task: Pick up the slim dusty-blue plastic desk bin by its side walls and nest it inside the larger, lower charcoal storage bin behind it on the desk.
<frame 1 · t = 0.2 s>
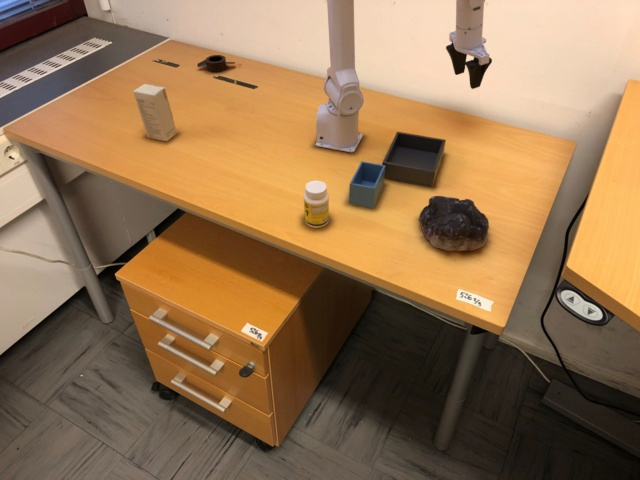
hand: (467, 80, 123), 10 cm above the table, tool pointing down, fingers open, 7 cm apart
crystal cluster: (453, 233, 99), on the table
cosmetic box: (161, 136, 126), on the table
blue bin: (366, 193, 108), on the table
charcoal bin: (413, 165, 115), on the table
supplement bottle: (316, 221, 102), on the table
black ring with tabs: (217, 69, 154), on the table
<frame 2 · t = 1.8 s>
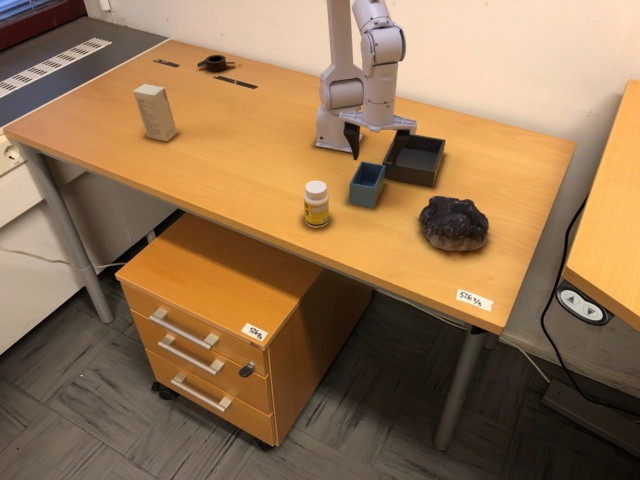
hand: (375, 160, 102), 8 cm above the table, tool pointing down, fingers open, 7 cm apart
nothing on the table moved.
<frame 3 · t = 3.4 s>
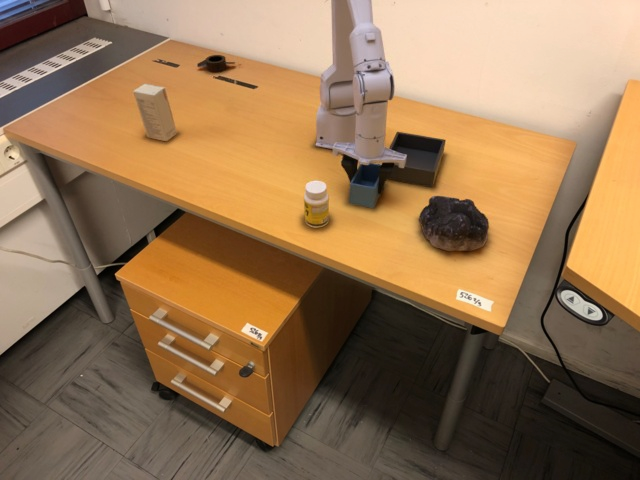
hand: (367, 188, 107), 1 cm above the table, tool pointing down, fingers closed on blue bin, 5 cm apart
blue bin: (366, 194, 108), on the table, touching gripper
everything else where it was.
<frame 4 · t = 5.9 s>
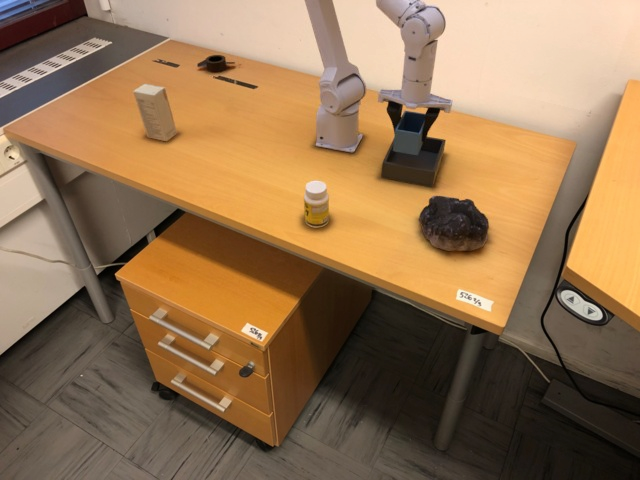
hand: (410, 137, 108), 8 cm above the table, tool pointing down, fingers closed on blue bin, 5 cm apart
blue bin: (409, 142, 109), point 7 cm above the table, touching gripper
everything else where it was.
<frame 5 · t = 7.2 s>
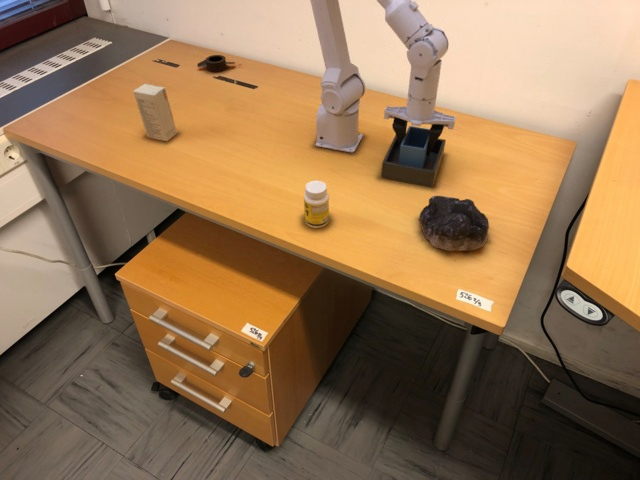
hand: (414, 151, 113), 4 cm above the table, tool pointing down, fingers closed on blue bin, 5 cm apart
blue bin: (414, 157, 113), point 2 cm above the table, touching gripper
everything else where it was.
when the fingers open (2 cm above the table, at t = 8.3 s): blue bin stays where it is, resting on charcoal bin.
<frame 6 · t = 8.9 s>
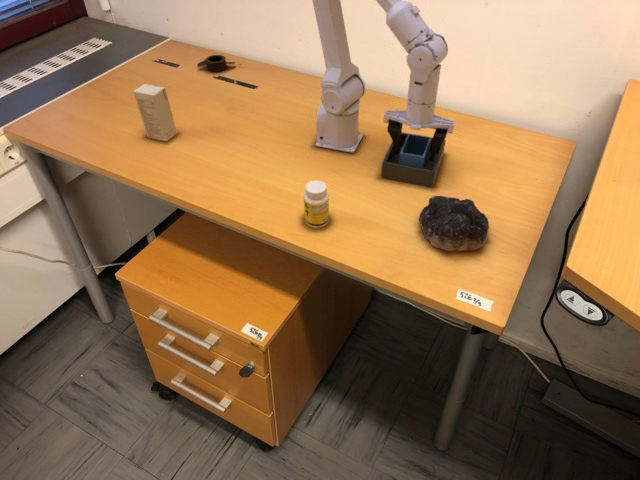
hand: (414, 155, 113), 3 cm above the table, tool pointing down, fingers open, 7 cm apart
blue bin: (413, 164, 115), resting on charcoal bin
everything else where it was.
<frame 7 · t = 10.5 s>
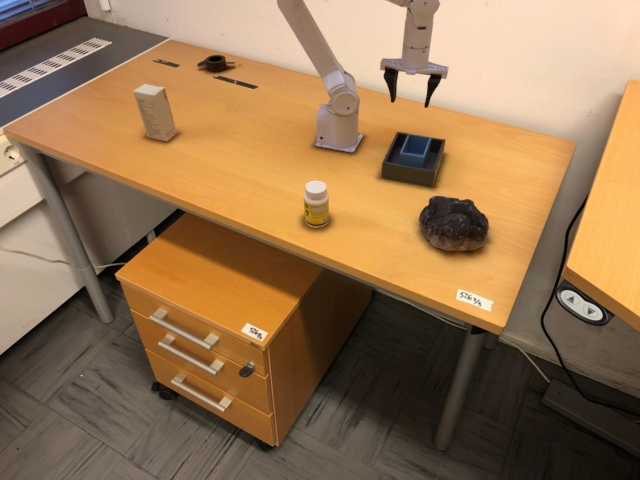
hand: (409, 103, 117), 9 cm above the table, tool pointing down, fingers open, 7 cm apart
nothing on the table moved.
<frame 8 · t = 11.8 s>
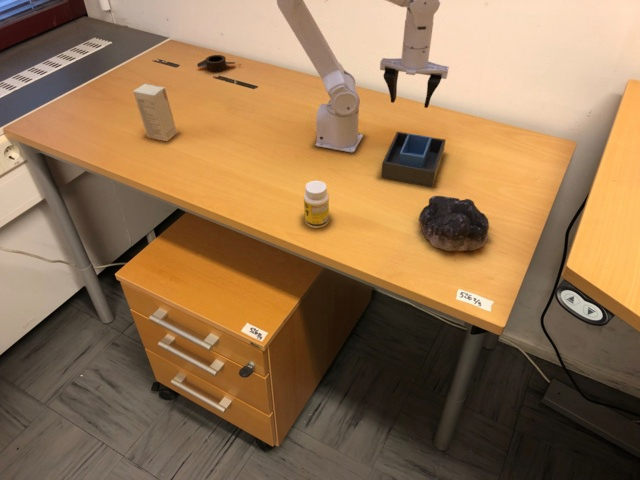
hand: (409, 103, 117), 9 cm above the table, tool pointing down, fingers open, 7 cm apart
nothing on the table moved.
at the end: blue bin 0.1 cm off-centre in the charcoal bin, point 0.5 cm above the charcoal bin's base; blue bin tilted 0°; the gripper is holding nothing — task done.
